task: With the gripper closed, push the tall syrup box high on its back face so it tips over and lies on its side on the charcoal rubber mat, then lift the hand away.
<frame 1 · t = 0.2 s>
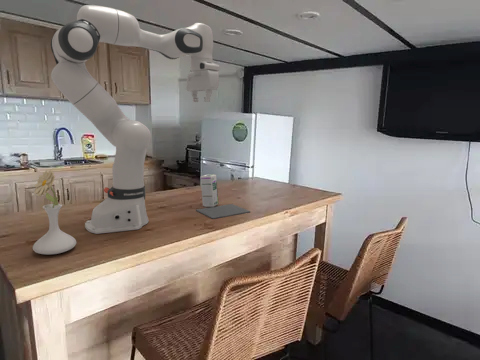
hand: (201, 101, 133), 47 cm above the worktop, tool pointing down, fingers open, 8 cm apart
rubber mat: (223, 211, 143), on the worktop
flower in vase: (55, 251, 95), on the worktop
syrup box: (210, 205, 151), on the worktop, touching rubber mat
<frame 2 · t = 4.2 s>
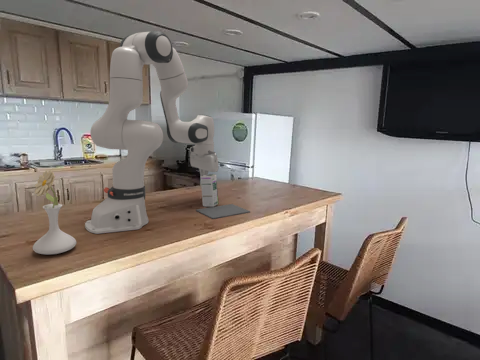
hand: (203, 178, 154), 12 cm above the worktop, tool pointing down, fingers closed
syrup box: (210, 205, 151), on the worktop, touching gripper, rubber mat
everything else where it was.
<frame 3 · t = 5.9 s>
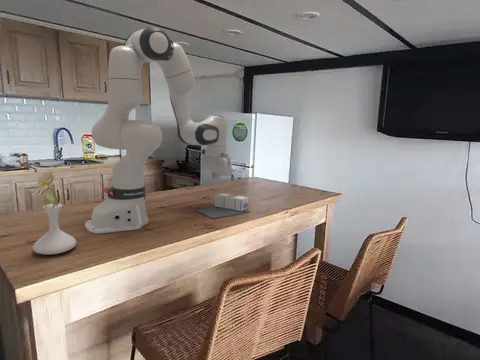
hand: (215, 182, 146), 12 cm above the worktop, tool pointing down, fingers closed
syrup box: (217, 199, 150), point 3 cm above the worktop, touching rubber mat
everything else where it was.
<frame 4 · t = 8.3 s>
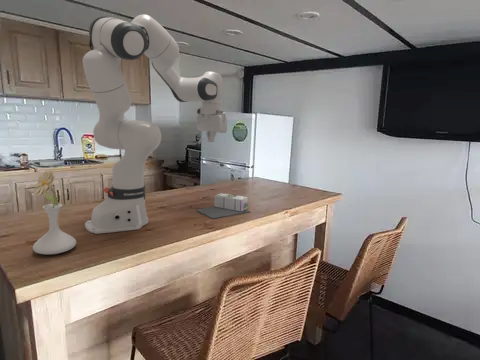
hand: (210, 142, 143), 30 cm above the worktop, tool pointing down, fingers closed
nothing on the worktop moved.
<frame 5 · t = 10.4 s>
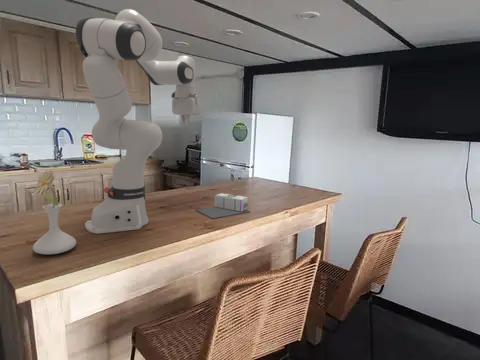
hand: (185, 125, 148), 37 cm above the worktop, tool pointing down, fingers closed
nothing on the worktop moved.
at the end: syrup box tilted 90°; syrup box touching rubber mat; syrup box inside the target area (2.4 cm from its centre), point 3.5 cm above the worktop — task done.
